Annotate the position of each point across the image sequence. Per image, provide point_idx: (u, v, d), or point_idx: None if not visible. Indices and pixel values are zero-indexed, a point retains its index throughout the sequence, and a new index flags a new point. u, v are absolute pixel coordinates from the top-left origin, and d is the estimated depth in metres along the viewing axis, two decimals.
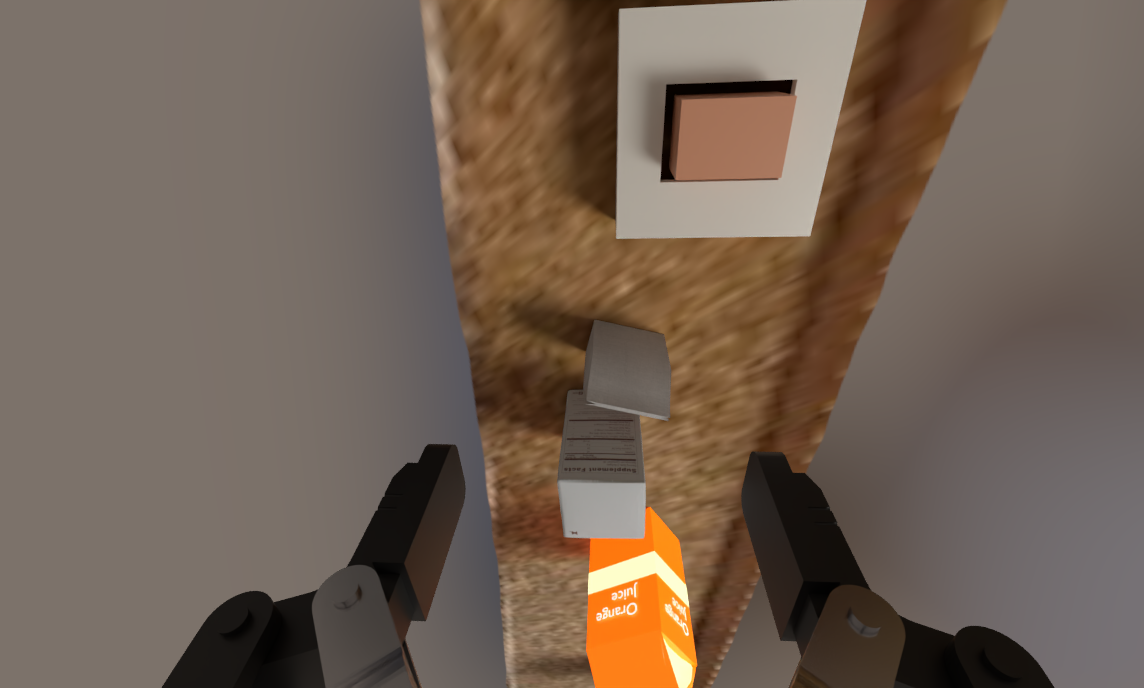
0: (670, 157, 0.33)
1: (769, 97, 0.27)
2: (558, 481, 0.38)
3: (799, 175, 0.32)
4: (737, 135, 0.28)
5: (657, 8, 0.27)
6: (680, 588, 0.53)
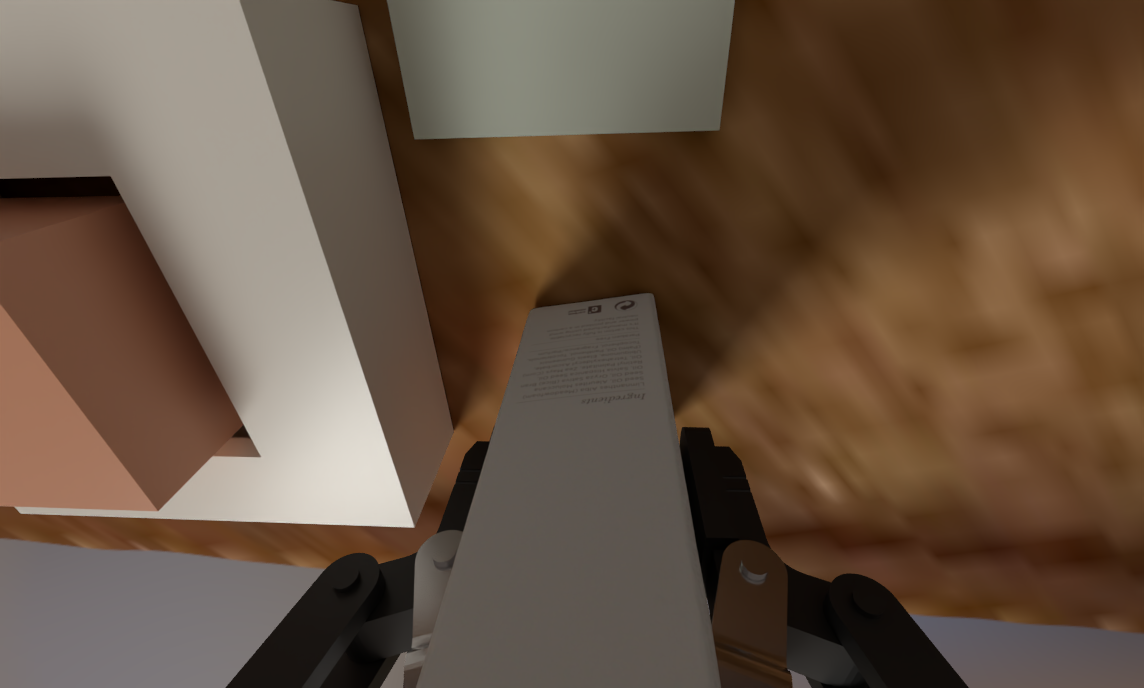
0: None
1: (123, 465, 0.11)
2: None
3: None
4: None
5: (278, 128, 0.09)
6: None
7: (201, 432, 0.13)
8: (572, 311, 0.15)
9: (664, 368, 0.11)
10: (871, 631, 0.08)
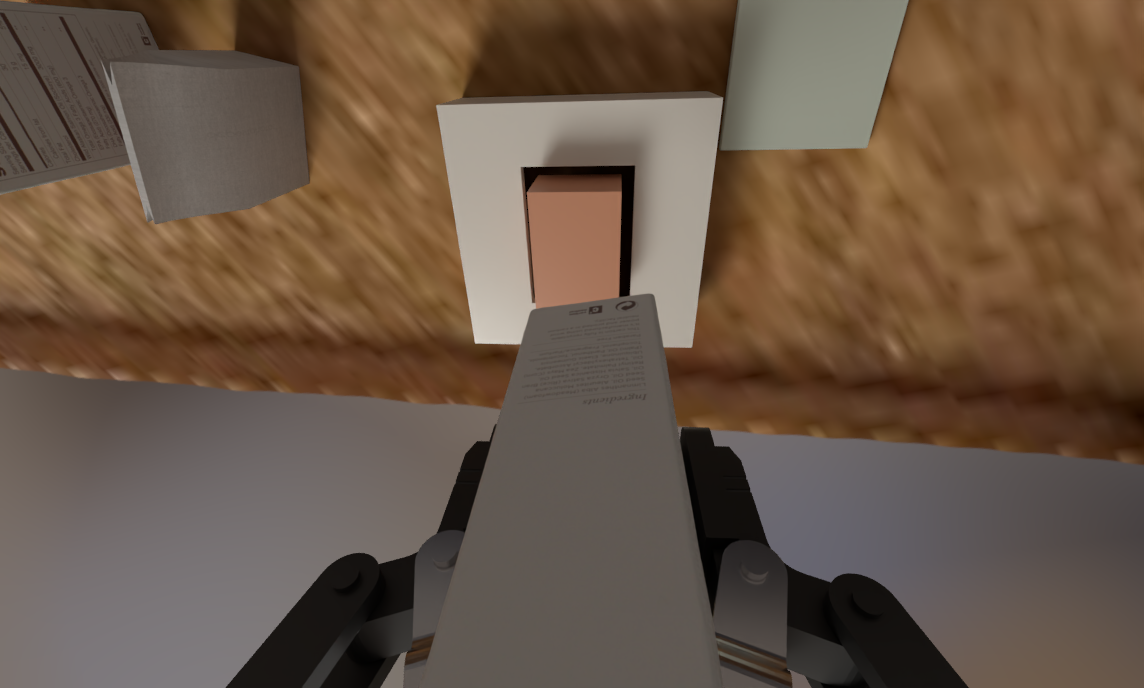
0: (551, 176, 0.26)
1: (618, 287, 0.25)
2: None
3: None
4: (580, 260, 0.24)
5: (715, 147, 0.23)
6: None
7: None
8: (573, 311, 0.15)
9: (665, 369, 0.11)
10: (871, 631, 0.08)
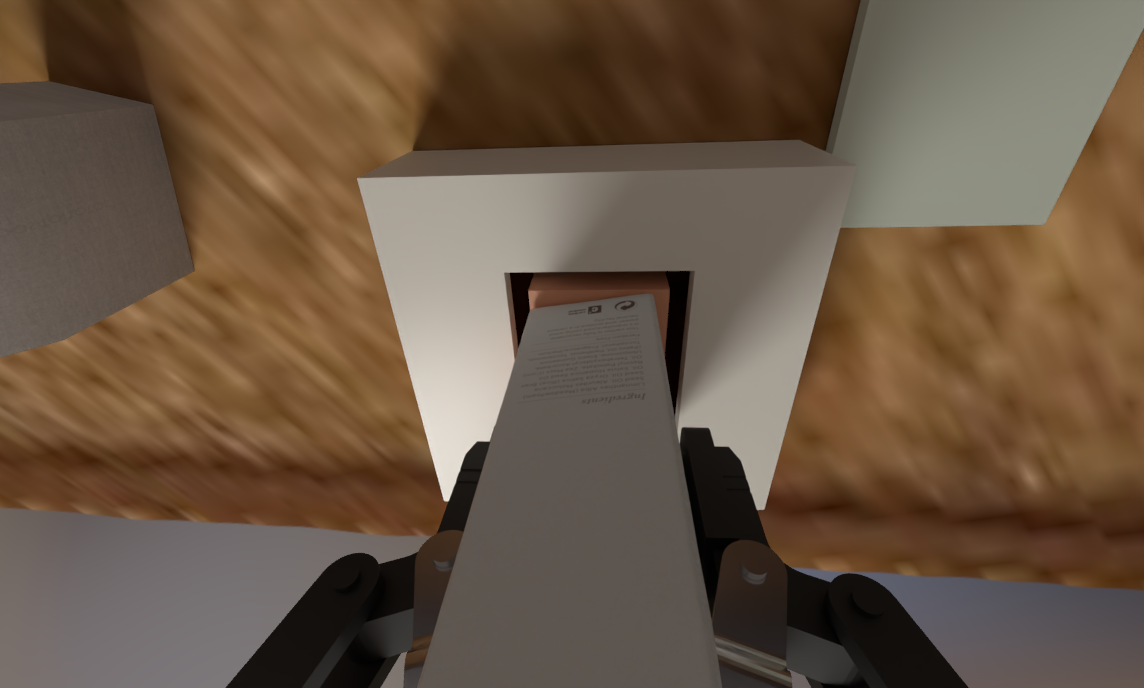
0: None
1: None
2: None
3: None
4: None
5: (833, 244, 0.14)
6: None
7: None
8: (572, 311, 0.15)
9: (664, 368, 0.11)
10: (871, 631, 0.08)
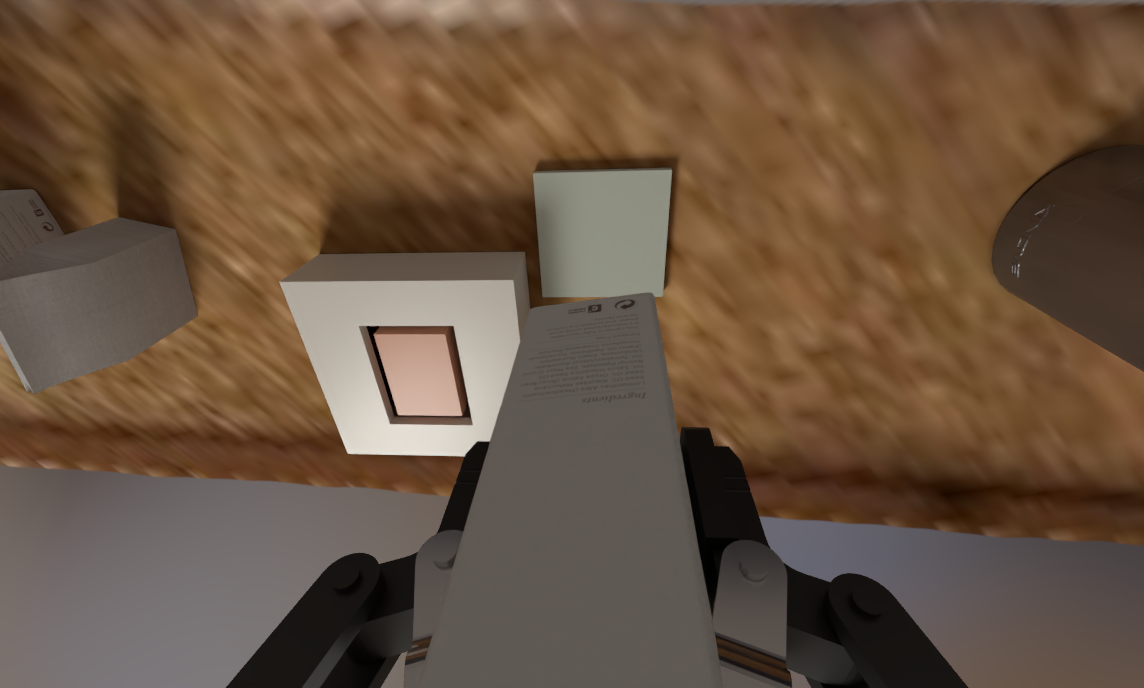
0: None
1: (458, 398, 0.32)
2: None
3: (397, 438, 0.34)
4: (424, 379, 0.31)
5: (515, 314, 0.28)
6: None
7: None
8: (572, 310, 0.15)
9: (665, 367, 0.11)
10: (871, 631, 0.08)
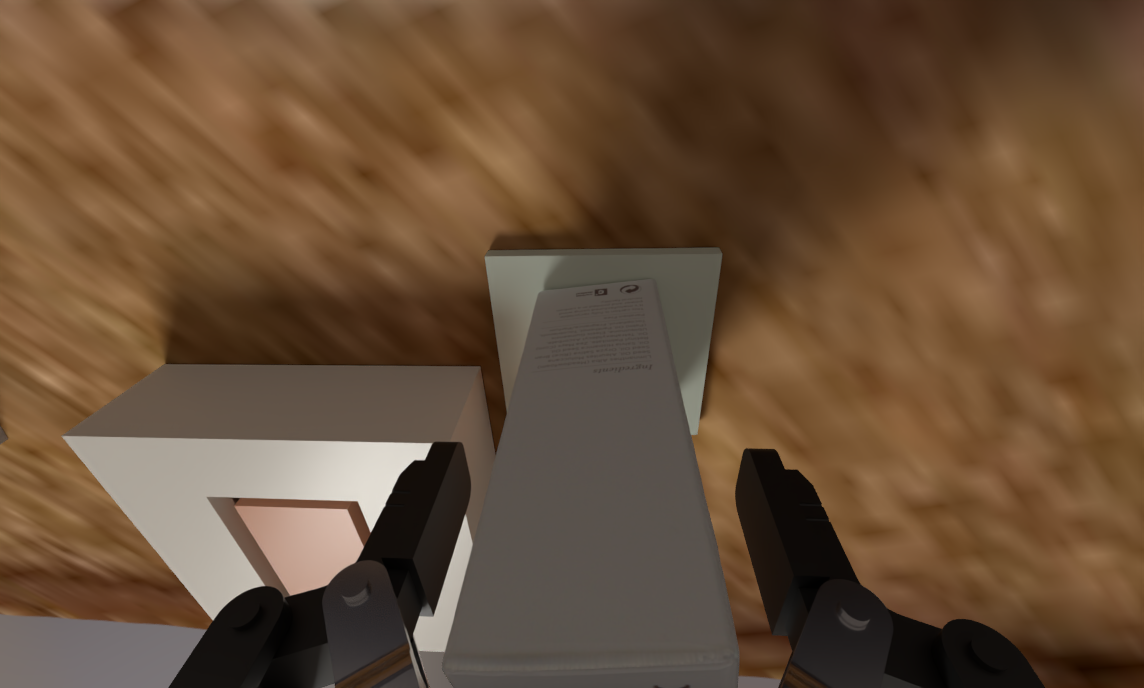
0: None
1: None
2: None
3: None
4: (325, 562, 0.20)
5: None
6: None
7: None
8: (579, 293, 0.16)
9: (669, 343, 0.12)
10: (987, 684, 0.07)
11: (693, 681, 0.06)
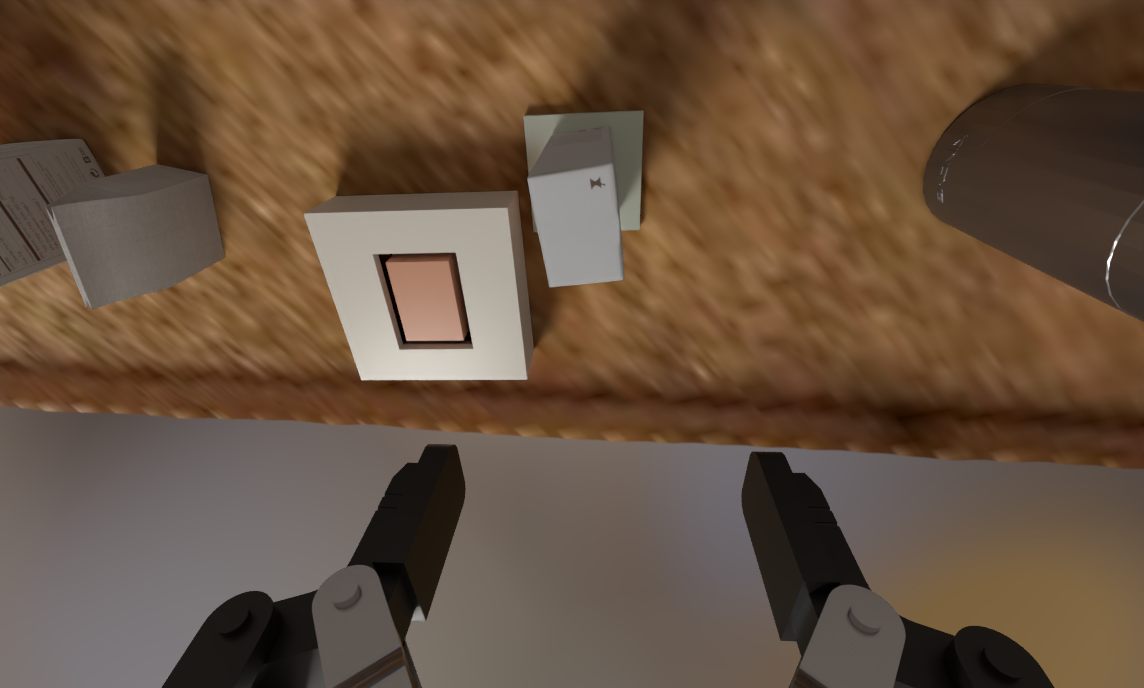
0: None
1: (460, 323, 0.36)
2: None
3: (406, 363, 0.38)
4: (430, 305, 0.35)
5: (510, 240, 0.32)
6: None
7: None
8: (572, 132, 0.31)
9: (610, 136, 0.28)
10: None
11: (601, 175, 0.22)
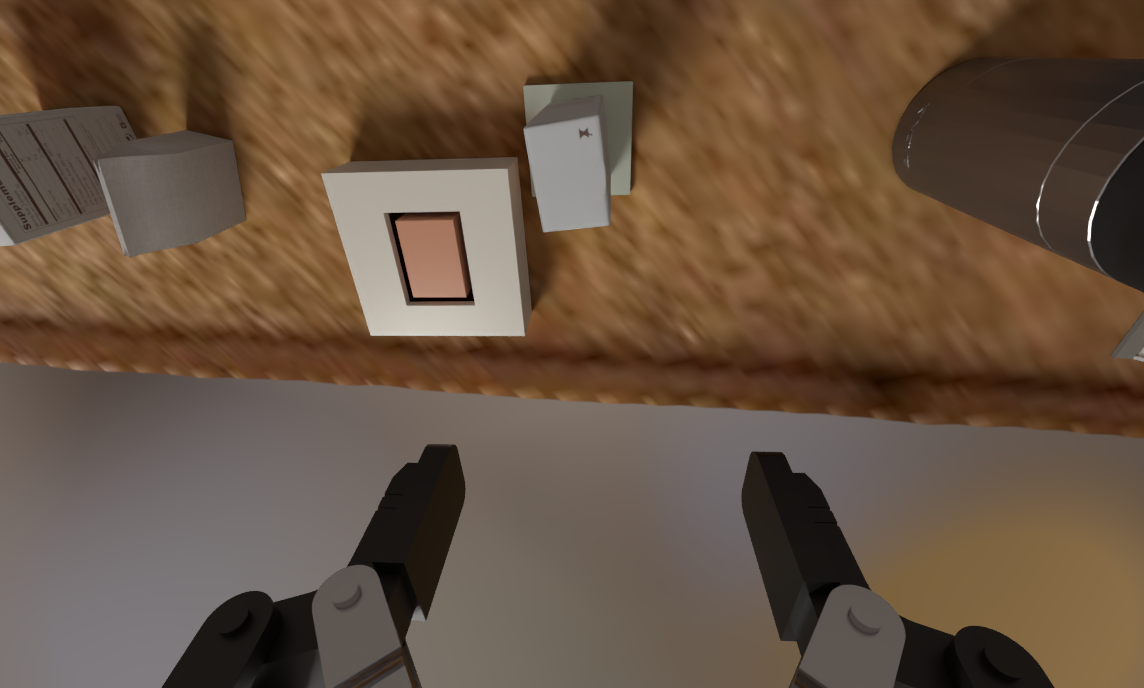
0: None
1: (462, 280, 0.39)
2: None
3: (412, 319, 0.41)
4: (435, 262, 0.38)
5: (509, 200, 0.35)
6: None
7: (470, 279, 0.41)
8: (567, 100, 0.34)
9: (601, 100, 0.30)
10: None
11: (588, 126, 0.24)
